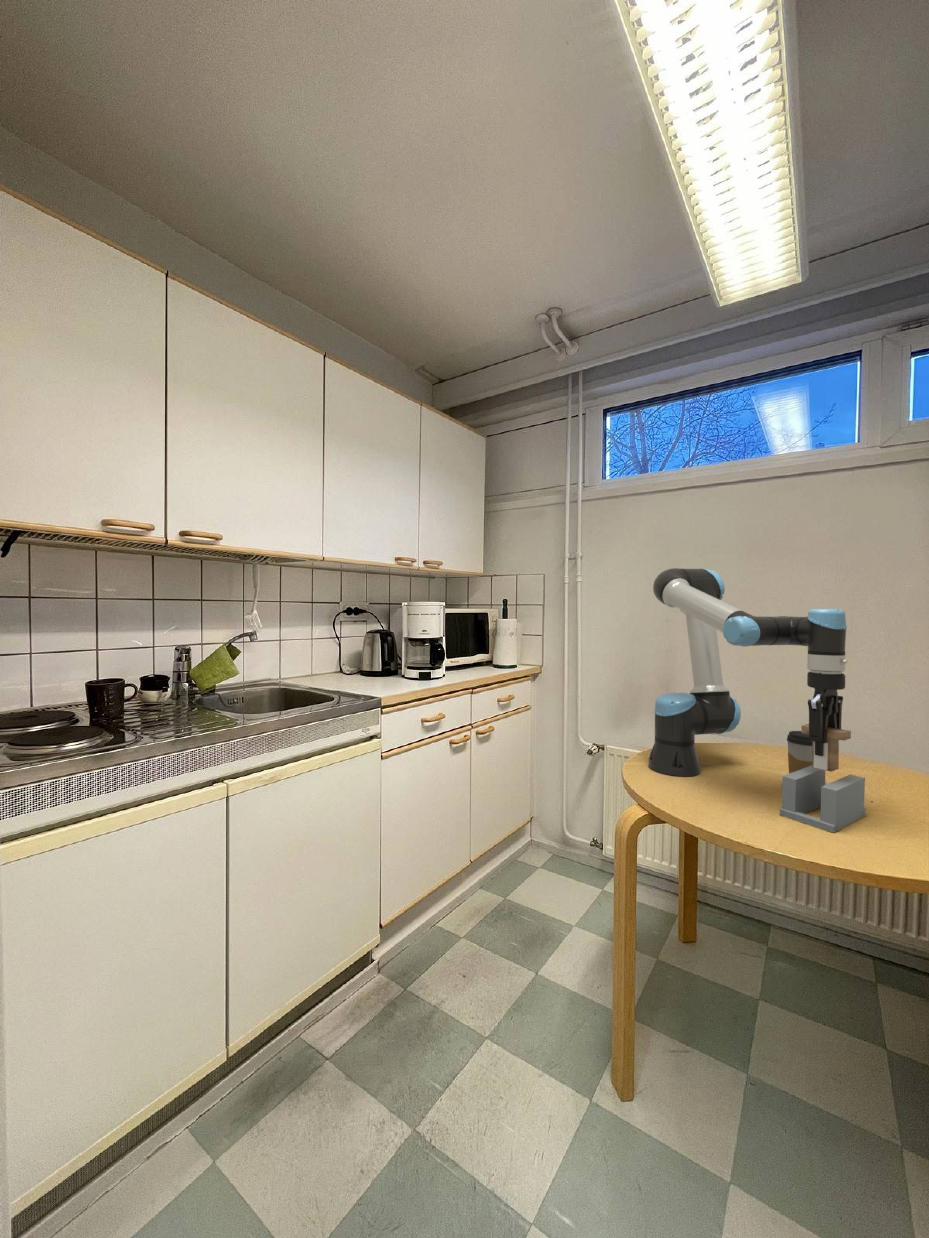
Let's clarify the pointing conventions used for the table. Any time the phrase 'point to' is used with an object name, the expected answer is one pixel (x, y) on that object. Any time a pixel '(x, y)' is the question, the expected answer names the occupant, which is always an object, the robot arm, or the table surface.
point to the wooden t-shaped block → (831, 745)
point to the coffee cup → (799, 751)
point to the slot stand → (822, 798)
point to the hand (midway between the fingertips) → (824, 766)
